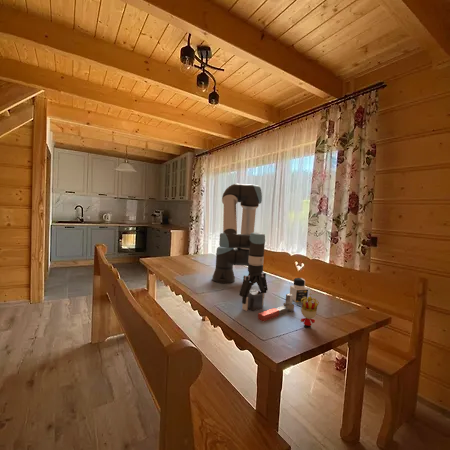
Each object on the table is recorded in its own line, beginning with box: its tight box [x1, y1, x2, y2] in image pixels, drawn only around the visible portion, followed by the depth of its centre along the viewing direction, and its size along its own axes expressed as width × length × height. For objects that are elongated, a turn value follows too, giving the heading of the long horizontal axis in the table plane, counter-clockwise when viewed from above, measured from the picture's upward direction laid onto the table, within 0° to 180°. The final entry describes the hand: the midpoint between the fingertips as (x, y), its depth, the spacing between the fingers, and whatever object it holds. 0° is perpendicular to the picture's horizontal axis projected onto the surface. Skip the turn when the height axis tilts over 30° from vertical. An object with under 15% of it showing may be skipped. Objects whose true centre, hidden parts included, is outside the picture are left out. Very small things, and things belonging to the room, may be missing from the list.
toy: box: [299, 292, 320, 329], centre depth 111 cm, size 7×7×15 cm
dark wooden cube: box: [247, 288, 264, 312], centre depth 130 cm, size 6×6×8 cm
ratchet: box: [257, 293, 295, 322], centre depth 123 cm, size 23×5×8 cm, turn 130°
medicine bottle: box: [289, 277, 309, 303], centre depth 144 cm, size 7×7×12 cm
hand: (253, 307), depth 130 cm, fingers open, 11 cm apart
